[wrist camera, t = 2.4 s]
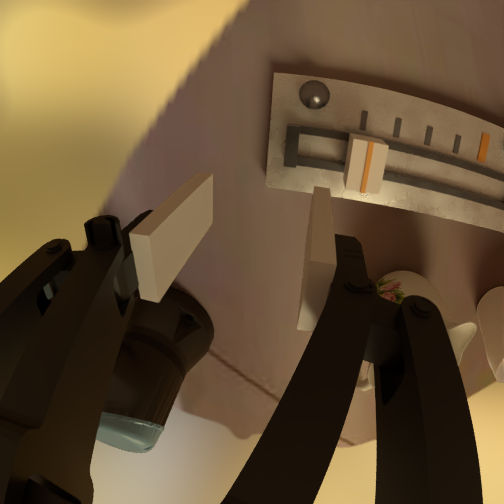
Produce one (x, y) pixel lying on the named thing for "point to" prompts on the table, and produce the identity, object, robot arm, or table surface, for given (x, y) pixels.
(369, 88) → the console
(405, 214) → the table surface
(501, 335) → the cup
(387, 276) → the pitcher
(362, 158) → the fader
